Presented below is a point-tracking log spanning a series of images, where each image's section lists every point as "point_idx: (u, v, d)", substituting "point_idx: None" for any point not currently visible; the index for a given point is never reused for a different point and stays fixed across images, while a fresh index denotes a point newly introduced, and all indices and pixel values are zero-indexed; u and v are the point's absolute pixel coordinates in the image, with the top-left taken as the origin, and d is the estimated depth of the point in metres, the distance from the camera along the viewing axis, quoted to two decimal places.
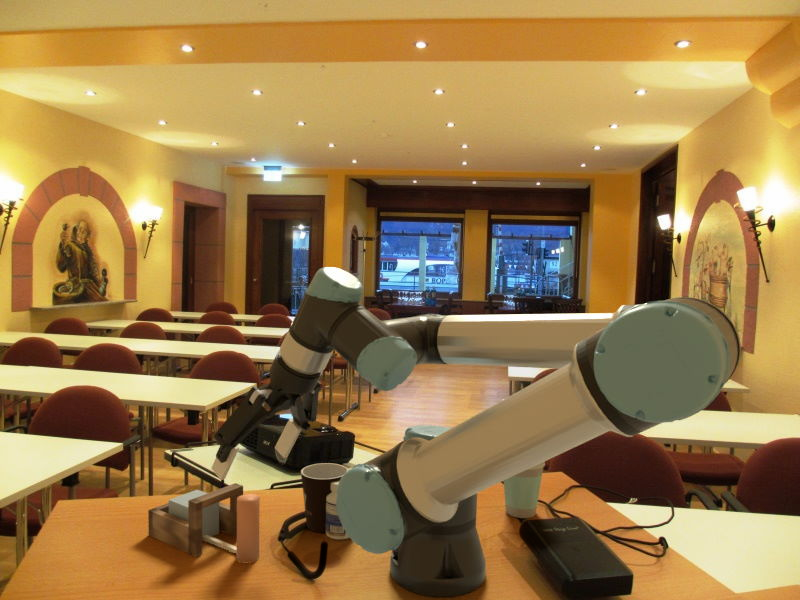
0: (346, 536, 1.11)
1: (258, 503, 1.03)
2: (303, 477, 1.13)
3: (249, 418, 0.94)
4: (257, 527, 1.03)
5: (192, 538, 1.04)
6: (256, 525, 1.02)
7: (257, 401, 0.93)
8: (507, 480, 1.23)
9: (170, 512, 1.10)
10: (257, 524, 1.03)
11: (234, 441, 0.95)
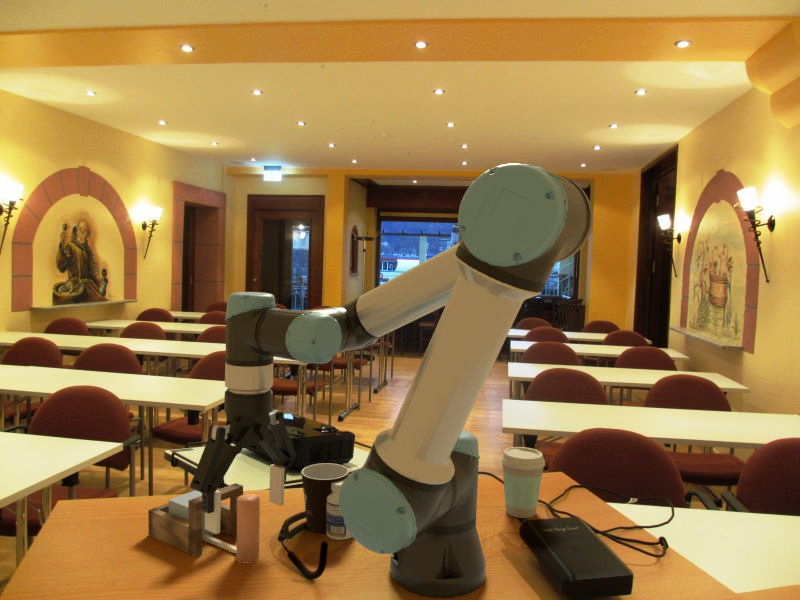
0: (346, 536, 1.11)
1: (258, 503, 1.03)
2: (304, 477, 1.13)
3: (217, 454, 0.96)
4: (257, 527, 1.03)
5: (192, 538, 1.04)
6: (256, 525, 1.02)
7: (218, 434, 0.96)
8: (507, 480, 1.23)
9: (170, 512, 1.10)
10: (257, 524, 1.03)
11: (212, 484, 0.96)
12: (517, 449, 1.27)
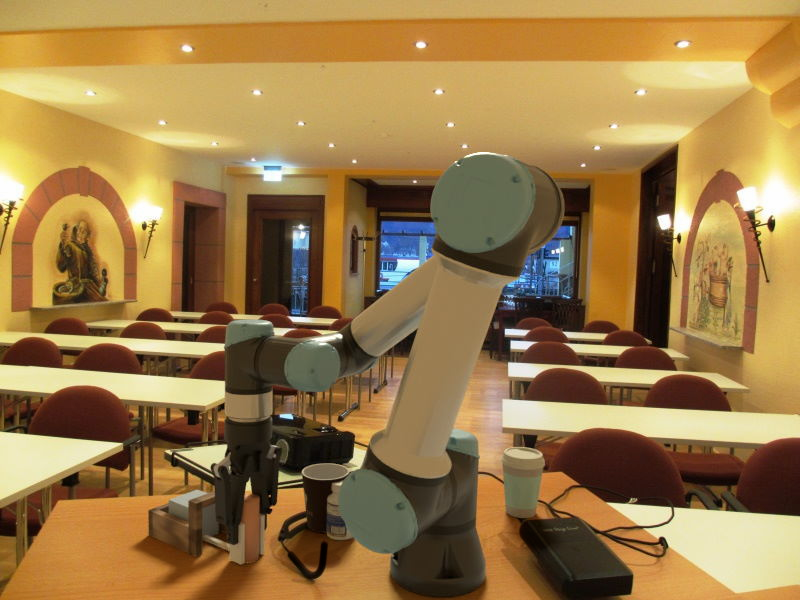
0: (347, 537, 1.11)
1: (258, 503, 1.03)
2: (304, 477, 1.13)
3: (228, 489, 0.98)
4: (257, 527, 1.03)
5: (192, 538, 1.04)
6: (256, 525, 1.02)
7: (220, 474, 0.97)
8: (507, 480, 1.23)
9: (170, 512, 1.10)
10: (257, 524, 1.03)
11: (235, 518, 1.00)
12: (517, 449, 1.27)
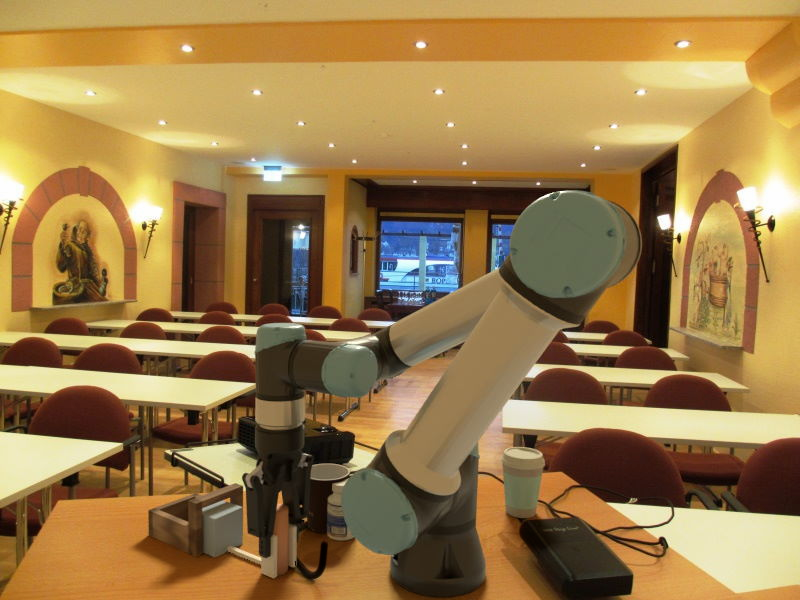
0: (347, 537, 1.11)
1: (287, 513, 0.99)
2: None
3: (260, 500, 0.94)
4: (286, 538, 0.99)
5: (192, 538, 1.04)
6: (285, 536, 0.99)
7: (253, 484, 0.93)
8: (507, 480, 1.23)
9: None
10: (286, 535, 0.99)
11: (267, 530, 0.96)
12: (517, 449, 1.27)
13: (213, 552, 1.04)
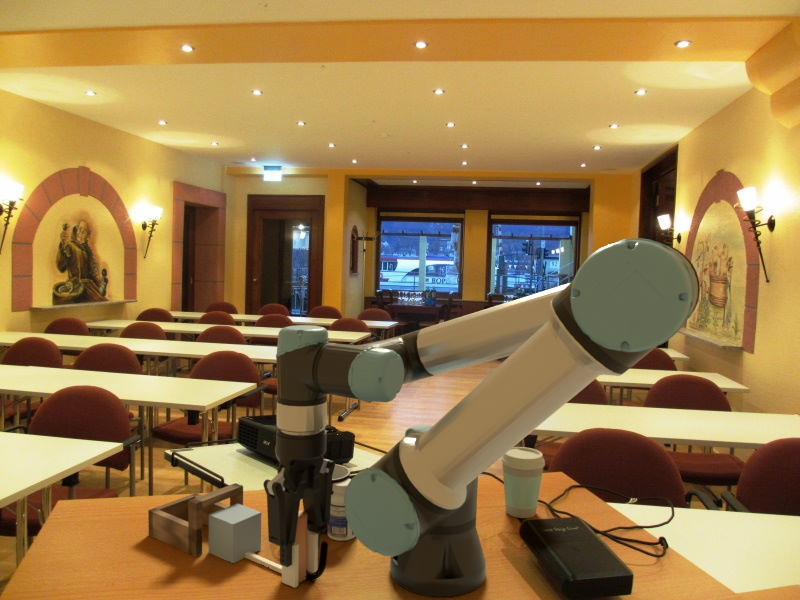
0: (348, 537, 1.11)
1: (306, 520, 0.97)
2: None
3: (282, 508, 0.91)
4: (305, 545, 0.97)
5: (192, 538, 1.04)
6: (304, 544, 0.97)
7: (275, 491, 0.90)
8: (507, 480, 1.23)
9: (210, 527, 1.04)
10: (305, 542, 0.97)
11: (288, 539, 0.93)
12: (517, 449, 1.27)
13: (231, 557, 1.02)
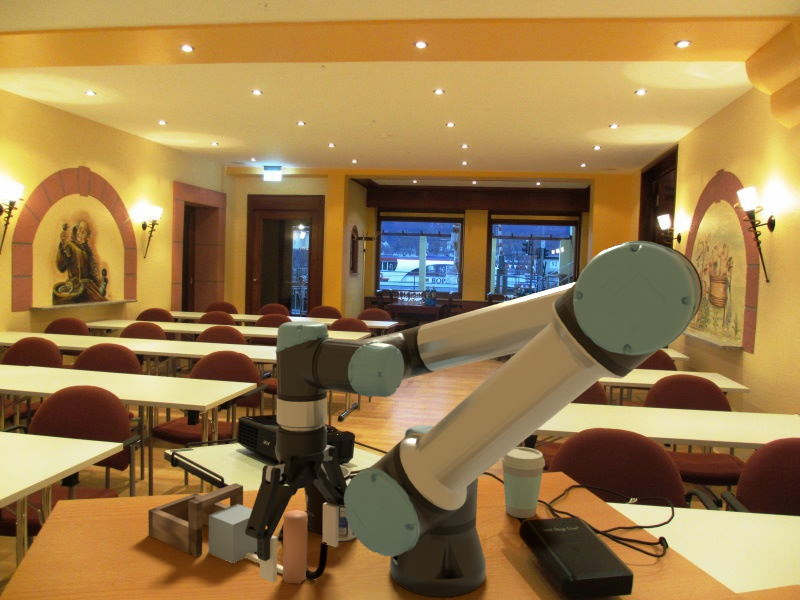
0: (348, 537, 1.11)
1: (306, 520, 0.97)
2: None
3: (272, 497, 0.89)
4: (305, 545, 0.97)
5: (192, 538, 1.04)
6: (304, 544, 0.97)
7: (273, 475, 0.90)
8: (507, 480, 1.23)
9: (210, 528, 1.04)
10: (305, 542, 0.97)
11: (268, 529, 0.89)
12: (517, 449, 1.27)
13: (231, 558, 1.02)
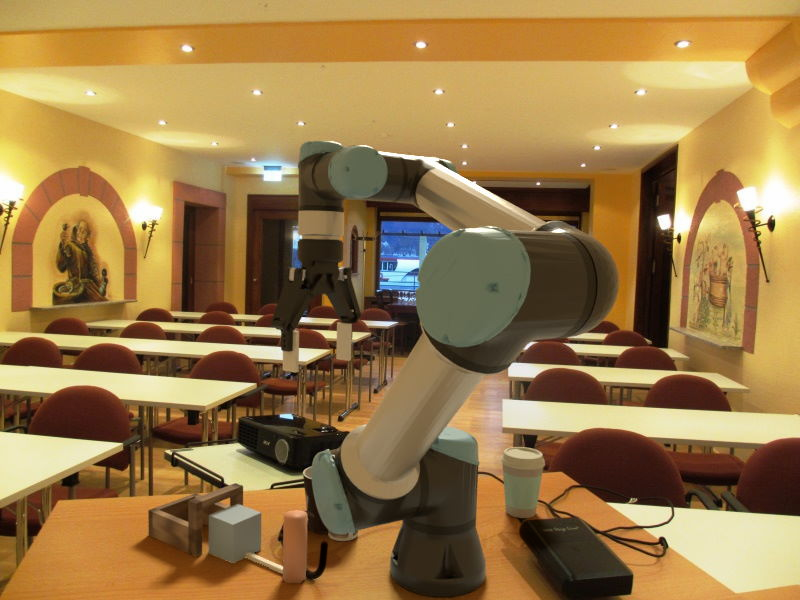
0: (349, 538, 1.10)
1: (306, 520, 0.97)
2: (305, 478, 1.13)
3: (296, 293, 0.99)
4: (305, 545, 0.97)
5: (192, 538, 1.04)
6: (304, 544, 0.97)
7: (296, 274, 0.99)
8: (507, 480, 1.23)
9: (210, 528, 1.04)
10: (305, 542, 0.97)
11: (291, 322, 0.99)
12: (517, 449, 1.27)
13: (231, 558, 1.02)
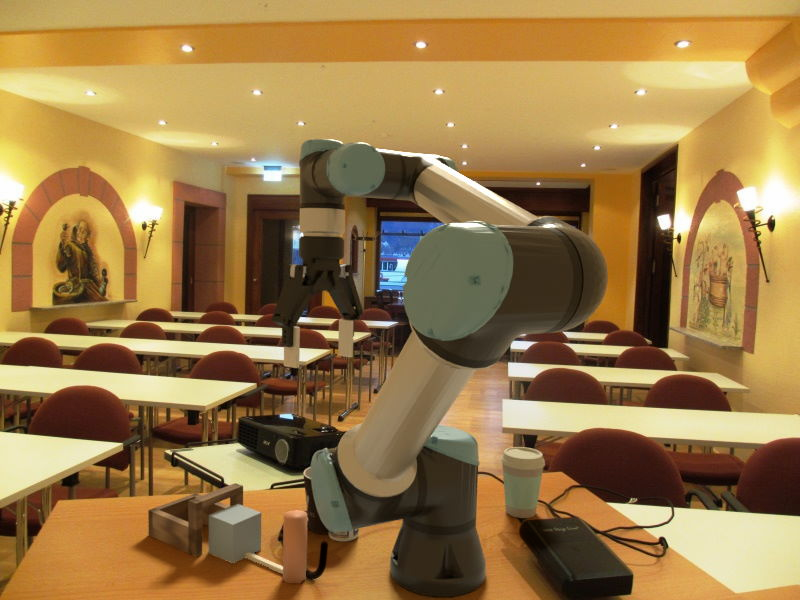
0: (349, 538, 1.10)
1: (306, 520, 0.97)
2: (306, 479, 1.12)
3: (296, 289, 1.00)
4: (305, 545, 0.97)
5: (192, 538, 1.04)
6: (304, 544, 0.97)
7: (297, 270, 1.00)
8: (507, 480, 1.23)
9: (210, 528, 1.04)
10: (305, 542, 0.97)
11: (292, 318, 1.00)
12: (517, 449, 1.27)
13: (231, 558, 1.02)
